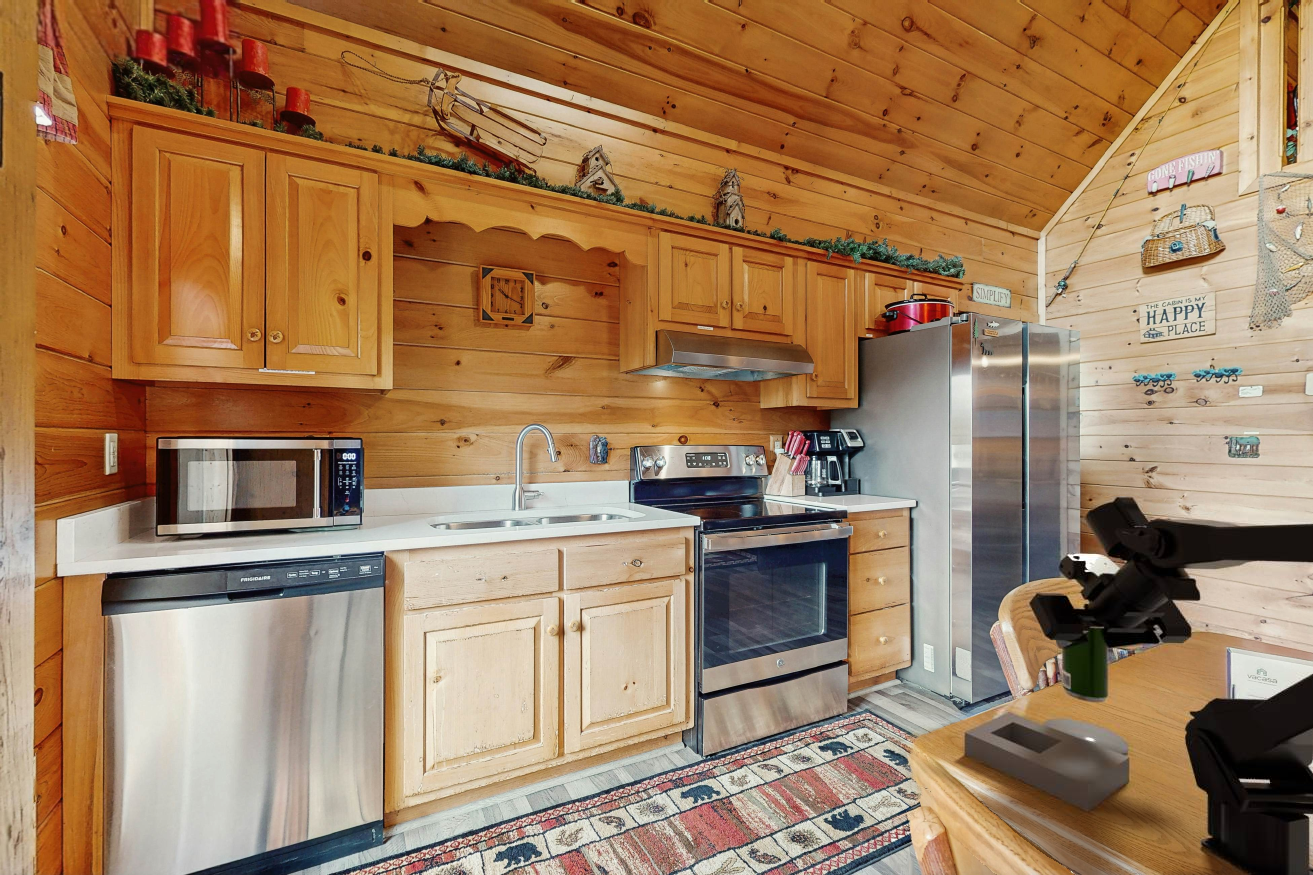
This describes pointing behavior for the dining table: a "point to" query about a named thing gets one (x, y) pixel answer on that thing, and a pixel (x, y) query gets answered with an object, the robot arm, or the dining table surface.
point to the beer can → (1087, 667)
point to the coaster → (1090, 734)
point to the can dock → (1048, 759)
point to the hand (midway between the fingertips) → (1078, 645)
